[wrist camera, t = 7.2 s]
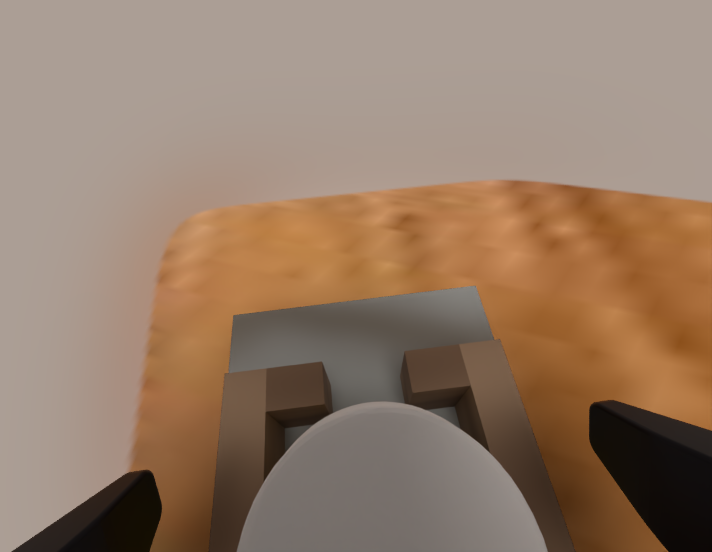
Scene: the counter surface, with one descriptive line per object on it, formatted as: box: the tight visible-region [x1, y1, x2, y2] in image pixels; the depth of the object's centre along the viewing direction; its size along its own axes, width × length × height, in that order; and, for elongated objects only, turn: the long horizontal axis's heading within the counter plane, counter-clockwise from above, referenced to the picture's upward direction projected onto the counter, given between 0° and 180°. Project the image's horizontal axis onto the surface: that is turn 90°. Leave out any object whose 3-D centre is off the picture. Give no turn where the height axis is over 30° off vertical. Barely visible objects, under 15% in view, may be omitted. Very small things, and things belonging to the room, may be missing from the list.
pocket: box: [209, 286, 576, 552], centre depth 12 cm, size 18×12×4 cm, turn 6°
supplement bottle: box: [237, 401, 548, 552], centre depth 8 cm, size 5×5×10 cm
